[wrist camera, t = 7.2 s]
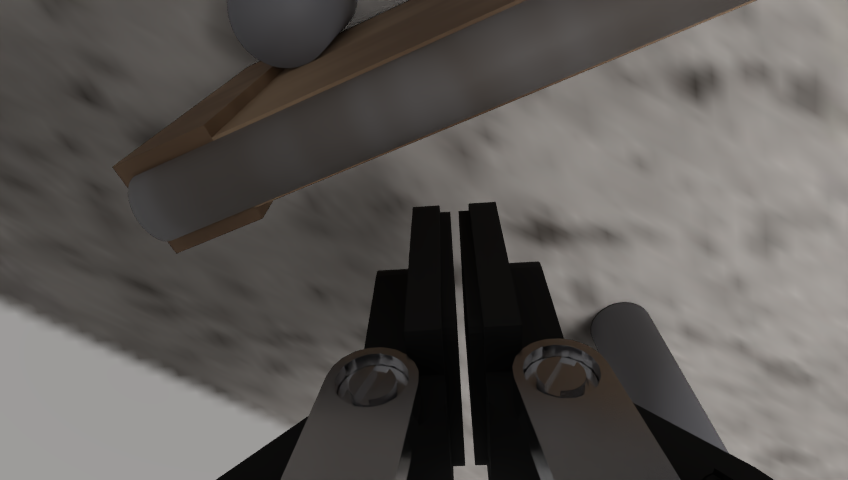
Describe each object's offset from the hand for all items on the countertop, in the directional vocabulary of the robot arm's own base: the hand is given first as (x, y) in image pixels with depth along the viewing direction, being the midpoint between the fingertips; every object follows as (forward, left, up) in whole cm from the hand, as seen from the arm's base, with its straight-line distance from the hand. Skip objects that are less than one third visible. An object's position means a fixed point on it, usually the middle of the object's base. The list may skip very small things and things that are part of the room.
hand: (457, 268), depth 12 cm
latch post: (+6, +5, -5) cm, 10 cm away
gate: (-4, 0, -5) cm, 7 cm away
